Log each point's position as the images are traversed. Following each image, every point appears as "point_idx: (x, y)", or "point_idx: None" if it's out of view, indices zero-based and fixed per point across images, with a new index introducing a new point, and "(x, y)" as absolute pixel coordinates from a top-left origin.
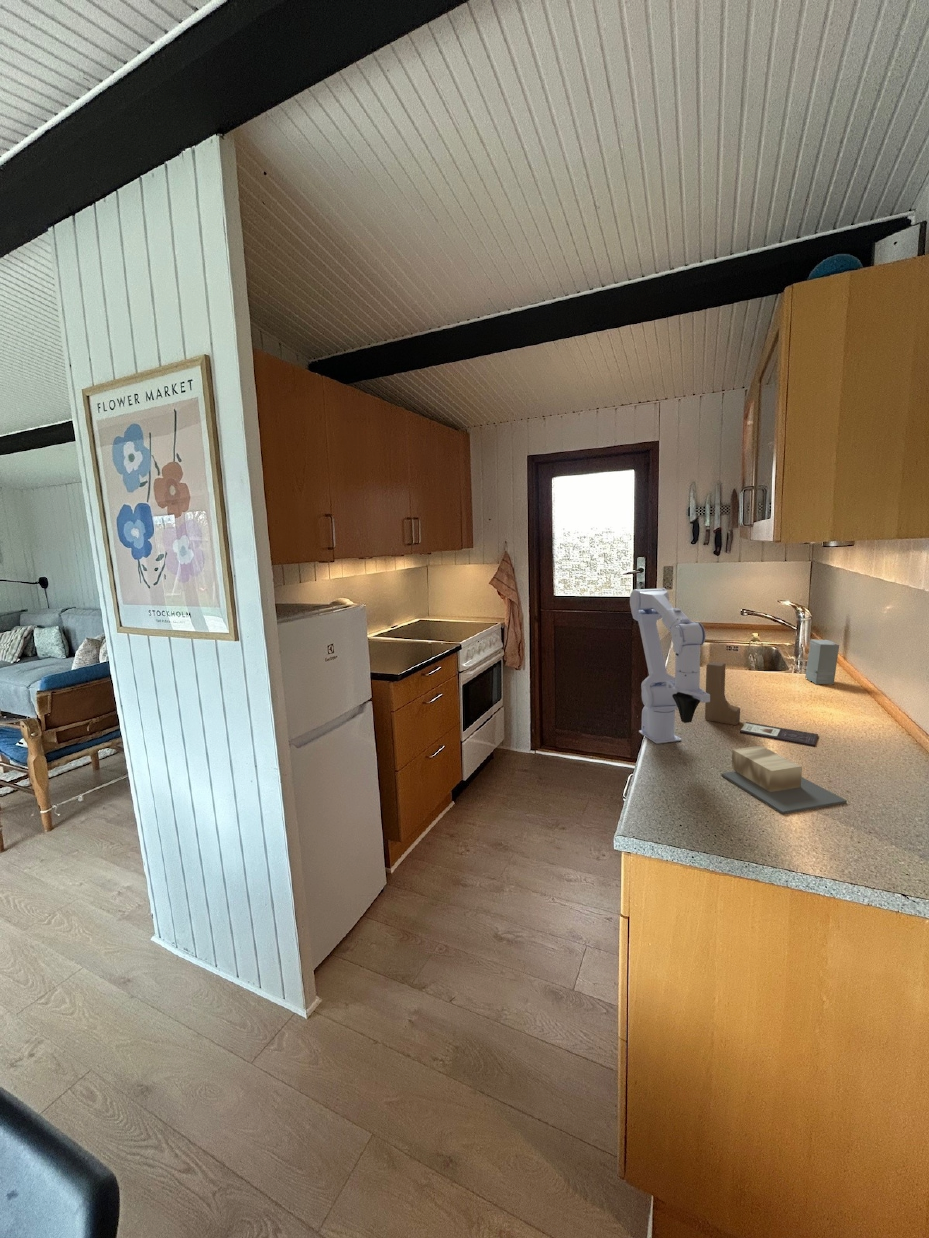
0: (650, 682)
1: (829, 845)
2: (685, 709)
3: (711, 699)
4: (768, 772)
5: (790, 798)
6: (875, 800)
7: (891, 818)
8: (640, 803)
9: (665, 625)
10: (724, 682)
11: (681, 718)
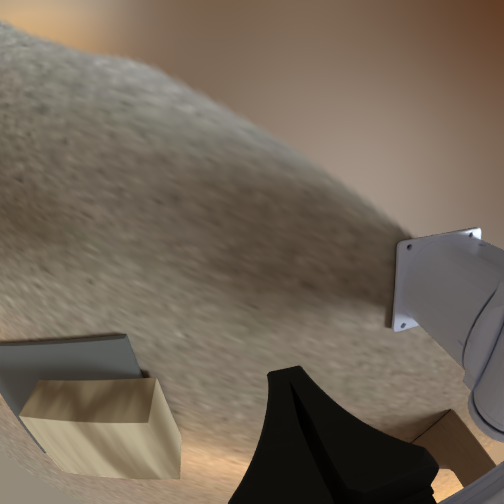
0: None
1: None
2: (258, 447)
3: (466, 452)
4: (27, 411)
5: (22, 393)
6: (65, 476)
7: (19, 455)
8: (7, 36)
9: None
10: None
11: (296, 377)
